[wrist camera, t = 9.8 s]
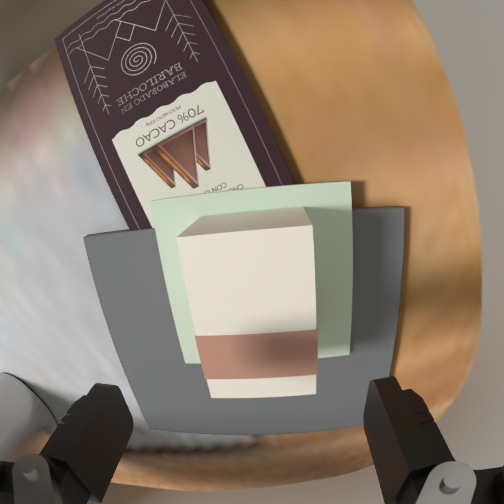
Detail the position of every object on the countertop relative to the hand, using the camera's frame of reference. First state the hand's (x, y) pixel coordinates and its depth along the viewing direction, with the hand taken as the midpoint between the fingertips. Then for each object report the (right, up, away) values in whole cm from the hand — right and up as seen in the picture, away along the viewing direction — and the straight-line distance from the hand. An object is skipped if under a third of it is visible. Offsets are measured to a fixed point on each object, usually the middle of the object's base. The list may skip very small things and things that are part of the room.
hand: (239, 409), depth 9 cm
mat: (0, -1, +10) cm, 10 cm away
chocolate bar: (-4, +12, +6) cm, 15 cm away
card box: (+1, +3, +7) cm, 8 cm away
